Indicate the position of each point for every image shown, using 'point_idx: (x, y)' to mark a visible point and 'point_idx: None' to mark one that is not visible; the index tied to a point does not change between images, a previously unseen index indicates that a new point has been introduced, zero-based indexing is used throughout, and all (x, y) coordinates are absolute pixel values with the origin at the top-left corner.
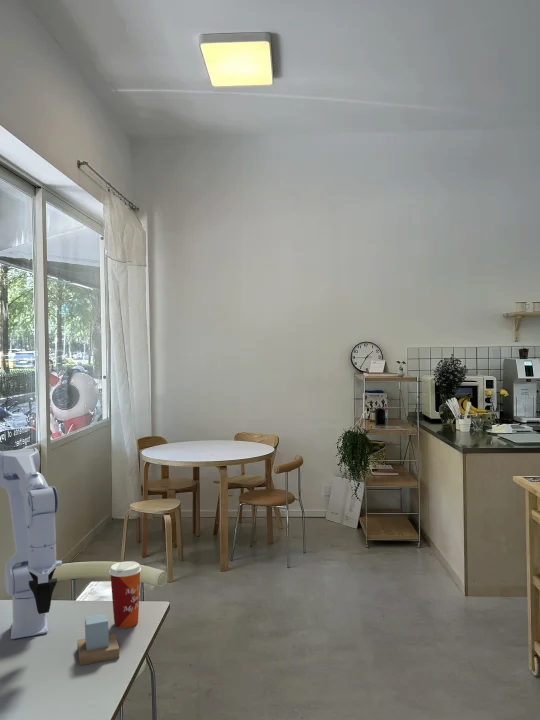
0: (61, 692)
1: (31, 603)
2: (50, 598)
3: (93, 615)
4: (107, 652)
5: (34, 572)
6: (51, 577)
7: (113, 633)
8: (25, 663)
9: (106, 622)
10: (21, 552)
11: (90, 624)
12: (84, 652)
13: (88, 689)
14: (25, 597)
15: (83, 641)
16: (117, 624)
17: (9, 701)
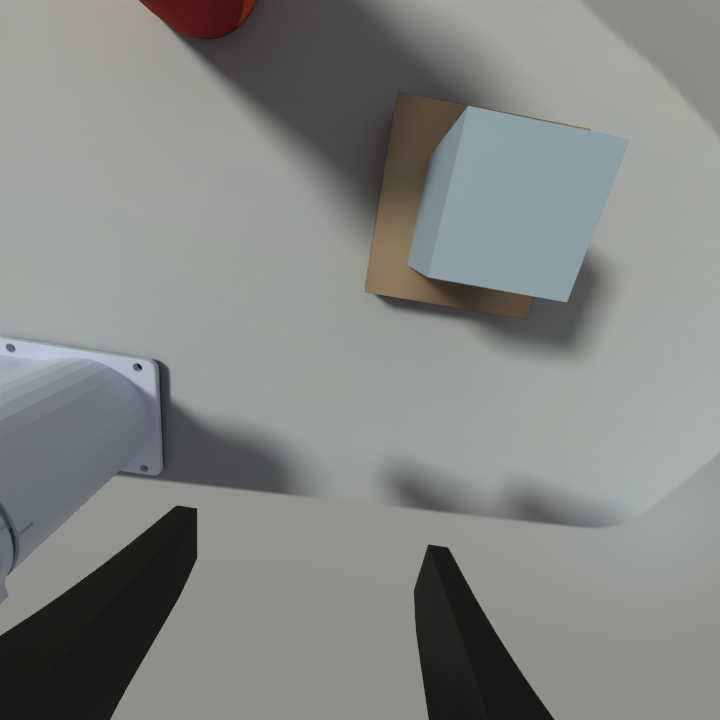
0: (638, 403)
1: (44, 497)
2: (510, 661)
3: (447, 215)
4: None
5: None
6: (25, 705)
7: (401, 98)
8: (368, 457)
9: (618, 155)
10: None
11: (575, 275)
12: (508, 295)
13: (696, 328)
14: (11, 557)
15: (397, 271)
16: (227, 23)
17: (567, 520)
